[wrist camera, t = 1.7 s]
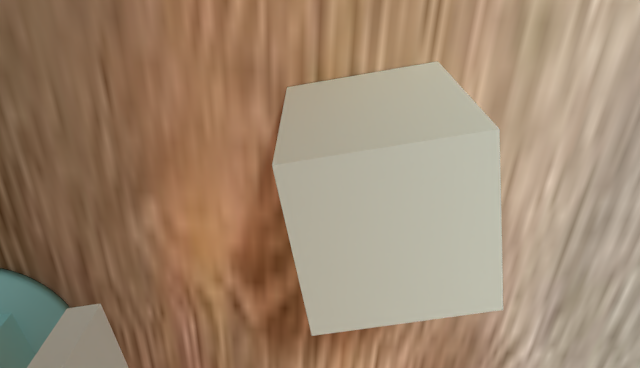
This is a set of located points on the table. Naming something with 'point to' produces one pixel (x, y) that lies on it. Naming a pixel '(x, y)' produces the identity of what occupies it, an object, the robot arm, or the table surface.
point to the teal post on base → (25, 317)
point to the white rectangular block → (390, 199)
